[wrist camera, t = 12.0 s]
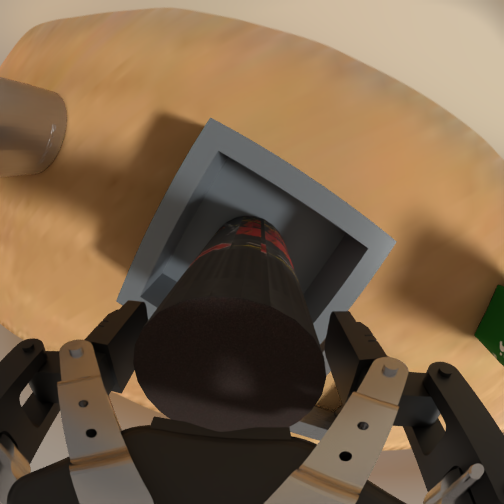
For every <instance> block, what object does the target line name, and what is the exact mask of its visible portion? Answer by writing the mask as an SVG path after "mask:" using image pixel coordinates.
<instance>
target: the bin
mask: <svg viewBox="0 0 504 504" xmlns="http://www.w3.org/2000/svg"><path fill="white" fill-rule="evenodd" d="M241 216H255V217H259V218H262V219H265V220H266V221H268V222H269V223H271V224H272V225H273V226H274V227H275V228H276V229H277V230H278V231H279V232H280V234H281V236H282V238H283V240H284V243H285V245H286V248H287V251H288V253H289V256H290V259H291V262H292V265H293V267H294V270H295V273H296V276H297V279H298V281H299V284H300V287H301V290H302V293H303V296H304V299H305V302H306V304H307V307H308V310H309V313H310V316H311V319H312V322H313V325H314V328H315V331H316V334H317V337H318V340H319V343H320V344H321V343H322V342H323V340H324V339H325V338H326V335H327V330H328V324H329V319H330V314H331V312H332V311H348V310H349V308H350V307H351V306H352V304H353V303H354V302H355V300H356V299H357V298H358V296H359V295H360V294H361V292H362V291H363V290H364V288H365V287H366V286H367V284H368V283H369V281H370V280H371V279H372V277H373V276H374V274H375V273H376V272H377V270H378V269H379V267H380V266H381V264H382V263H383V261H384V260H385V259H386V257H387V256H388V254H389V253H390V251H391V250H392V248H393V246H394V245H395V243H396V241H395V240H394V239H393V238H392V237H390V236H389V235H388V234H387V233H385V232H384V231H383V230H382V229H380V228H379V227H378V226H377V225H375V224H374V223H373V222H371V221H370V220H369V219H368V218H366V217H365V216H364V215H362V214H361V213H360V212H358V211H357V210H356V209H354V208H353V207H352V206H350V205H349V204H348V203H346V202H345V201H343V200H342V199H341V198H339V197H338V196H336V195H335V194H334V193H332V192H331V191H329V190H328V189H327V188H325V187H324V186H322V185H321V184H319V183H318V182H316V181H315V180H313V179H312V178H310V177H309V176H307V175H306V174H304V173H303V172H301V171H300V170H298V169H297V168H295V167H294V166H292V165H291V164H289V163H288V162H286V161H284V160H283V159H281V158H280V157H278V156H276V155H275V154H273V153H272V152H270V151H268V150H267V149H265V148H263V147H262V146H260V145H258V144H257V143H255V142H253V141H252V140H250V139H248V138H246V137H245V136H243V135H241V134H239V133H238V132H236V131H234V130H232V129H230V128H229V127H227V126H225V125H223V124H221V123H220V122H218V121H216V120H214V119H212V118H210V119H209V121H208V122H207V124H206V125H205V127H204V128H203V130H202V132H201V133H200V135H199V136H198V138H197V140H196V141H195V143H194V145H193V146H192V148H191V150H190V151H189V153H188V155H187V156H186V158H185V160H184V161H183V163H182V165H181V167H180V168H179V170H178V172H177V174H176V176H175V177H174V179H173V181H172V183H171V185H170V186H169V188H168V190H167V192H166V194H165V196H164V198H163V200H162V201H161V203H160V205H159V207H158V209H157V211H156V213H155V215H154V217H153V219H152V221H151V223H150V225H149V227H148V229H147V232H146V234H145V236H144V238H143V240H142V242H141V244H140V246H139V249H138V251H137V253H136V255H135V257H134V260H133V262H132V264H131V267H130V269H129V271H128V274H127V276H126V278H125V281H124V283H123V286H122V288H121V290H120V293H119V296H118V298H117V302H118V303H120V304H121V305H124V304H125V303H126V302H127V301H128V300H131V301H141V302H145V304H146V307H147V315H148V320H149V319H150V317H151V316H152V315H153V313H154V312H155V311H156V309H157V308H158V307H159V305H160V304H161V303H162V301H163V300H164V299H165V297H166V296H167V295H168V293H169V292H170V291H171V289H172V288H173V287H174V286H175V284H176V283H177V282H178V280H179V279H180V278H181V276H182V275H183V274H184V273H185V271H186V270H187V269H188V267H189V266H190V265H191V264H192V262H193V261H194V260H195V258H196V257H197V256H198V255H199V253H200V252H201V251H202V250H203V248H204V247H205V246H206V245H207V243H208V242H209V241H210V240H211V238H212V237H213V236H214V235H215V233H216V232H217V231H218V230H219V229H220V228H221V227H222V226H223V225H224V224H225V223H226V222H228V221H230V220H232V219H234V218H237V217H241Z"/></svg>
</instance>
